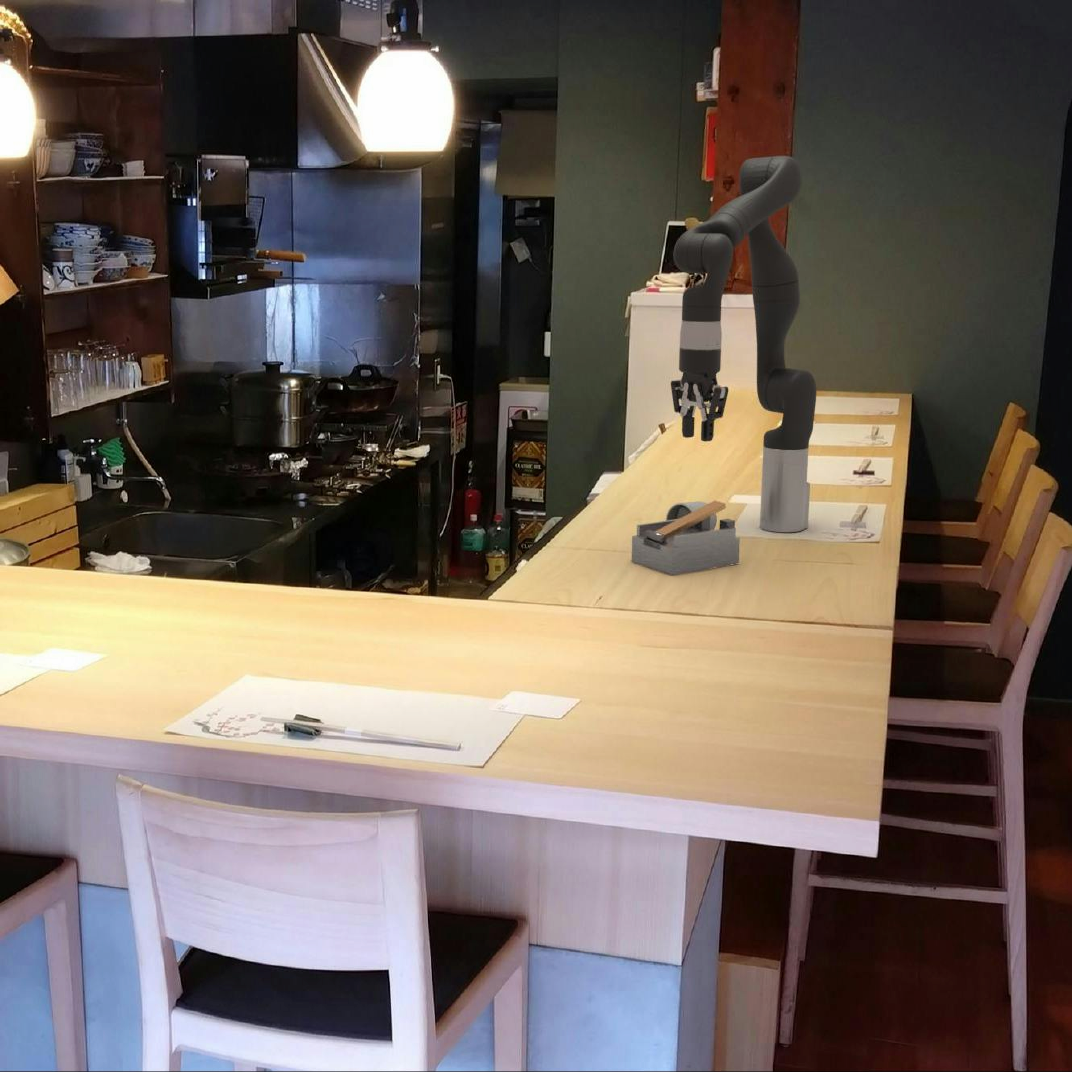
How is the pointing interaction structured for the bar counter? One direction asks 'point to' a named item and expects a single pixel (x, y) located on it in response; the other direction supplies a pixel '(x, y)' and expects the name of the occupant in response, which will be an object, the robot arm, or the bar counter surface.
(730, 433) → the bar counter surface
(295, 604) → the bar counter surface
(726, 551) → the block
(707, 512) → the strap
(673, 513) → the ceramic mug
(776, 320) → the robot arm
